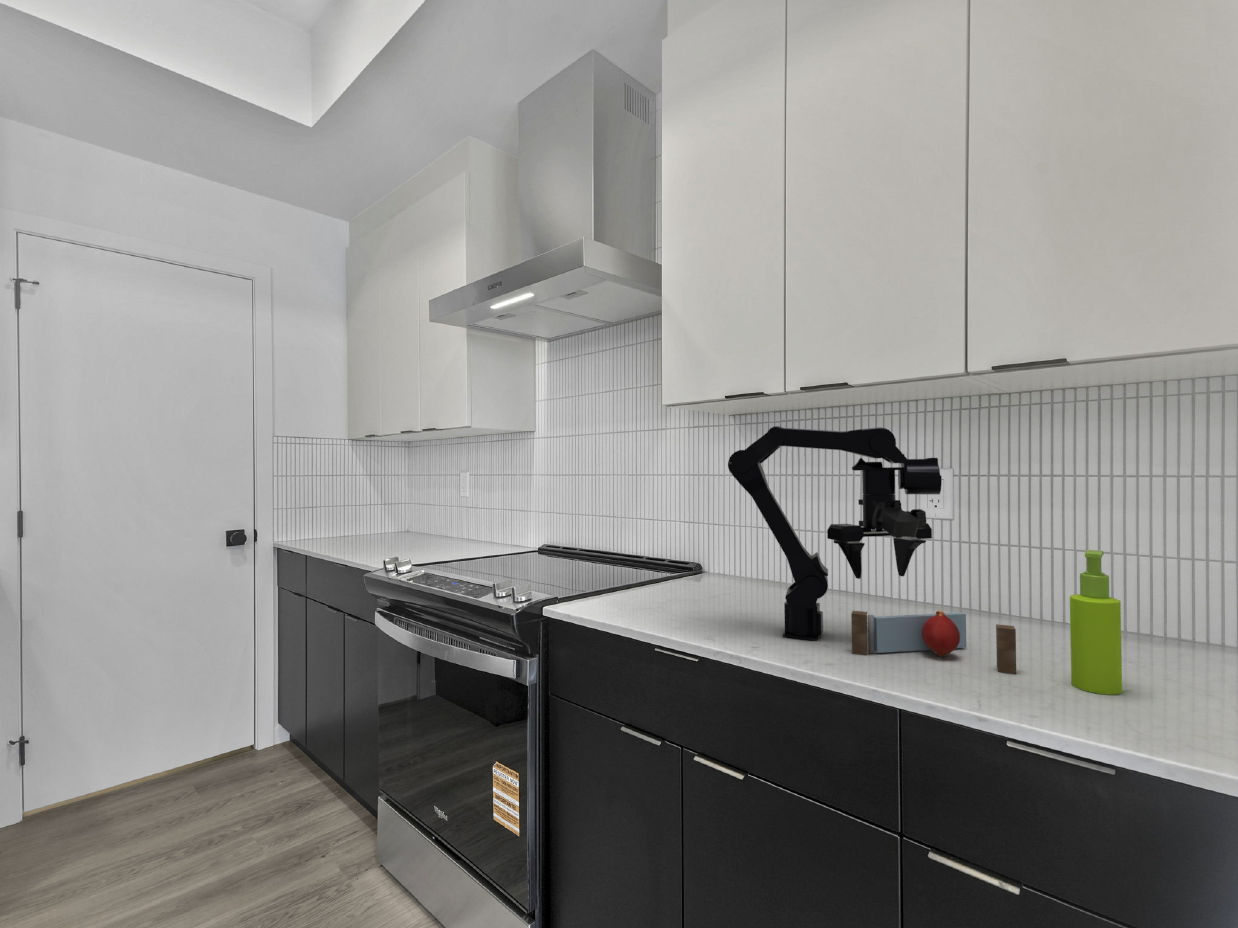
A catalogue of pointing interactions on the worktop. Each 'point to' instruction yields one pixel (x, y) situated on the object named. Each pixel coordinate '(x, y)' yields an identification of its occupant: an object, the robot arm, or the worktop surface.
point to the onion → (941, 634)
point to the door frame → (1003, 642)
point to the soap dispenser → (1095, 632)
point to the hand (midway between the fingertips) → (880, 577)
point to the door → (906, 632)
